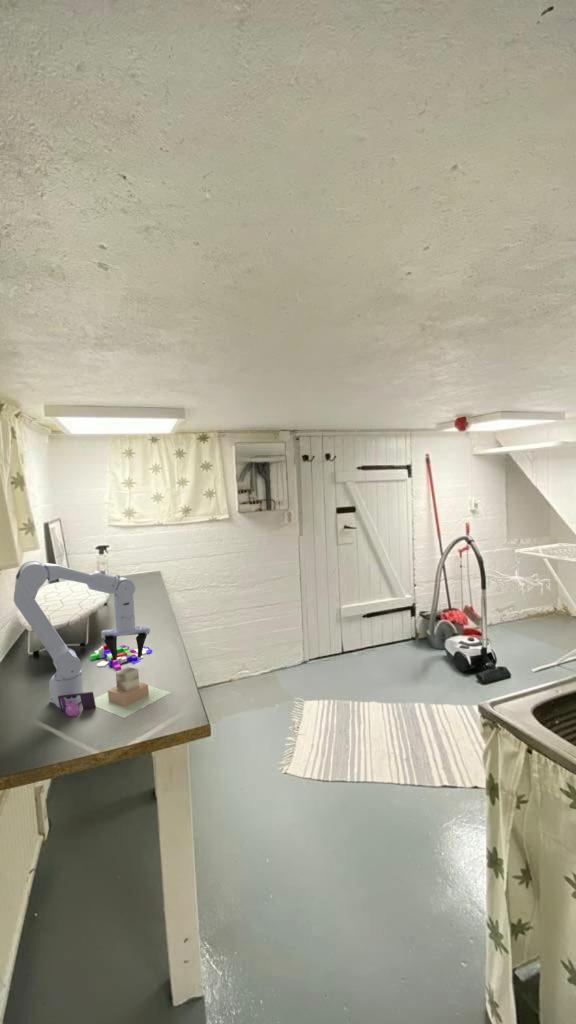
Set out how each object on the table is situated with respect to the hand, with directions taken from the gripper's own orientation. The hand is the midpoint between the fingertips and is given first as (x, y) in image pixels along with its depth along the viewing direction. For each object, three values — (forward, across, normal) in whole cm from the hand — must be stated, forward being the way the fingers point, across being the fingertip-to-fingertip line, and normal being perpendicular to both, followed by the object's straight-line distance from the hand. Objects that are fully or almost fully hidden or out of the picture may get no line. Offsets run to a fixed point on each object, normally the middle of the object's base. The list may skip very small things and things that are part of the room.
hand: (127, 657), depth 132 cm
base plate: (+9, +2, -10) cm, 14 cm away
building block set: (+10, -10, +28) cm, 31 cm away
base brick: (+8, +2, -10) cm, 13 cm away
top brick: (+5, +2, -10) cm, 11 cm away
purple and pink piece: (+10, -10, -16) cm, 21 cm away
